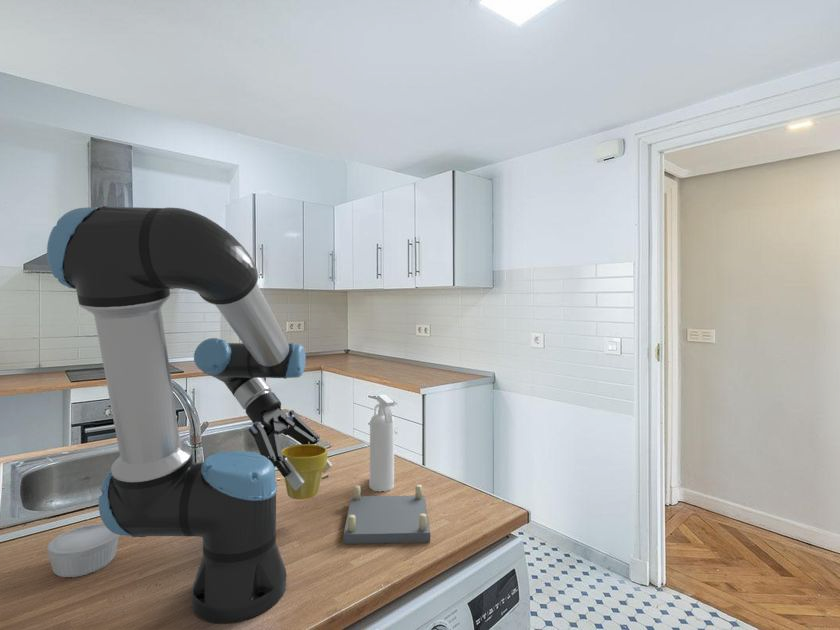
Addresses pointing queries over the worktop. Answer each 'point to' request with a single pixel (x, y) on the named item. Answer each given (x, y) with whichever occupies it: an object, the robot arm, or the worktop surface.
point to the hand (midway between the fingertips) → (314, 477)
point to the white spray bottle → (382, 446)
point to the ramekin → (82, 550)
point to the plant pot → (306, 468)
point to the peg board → (387, 519)
